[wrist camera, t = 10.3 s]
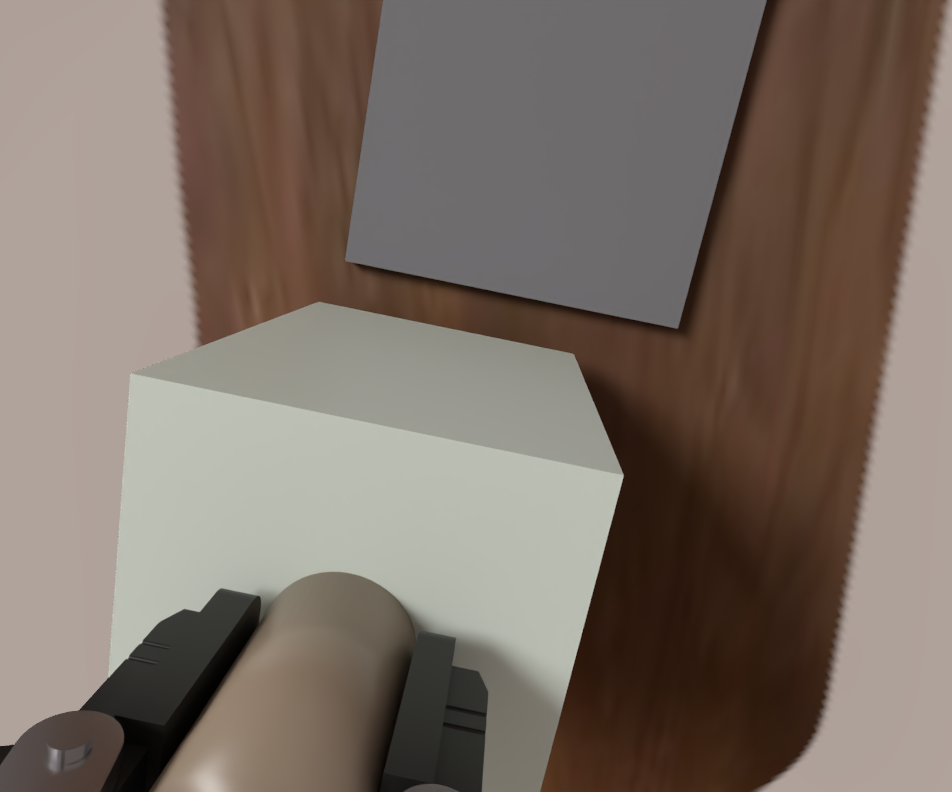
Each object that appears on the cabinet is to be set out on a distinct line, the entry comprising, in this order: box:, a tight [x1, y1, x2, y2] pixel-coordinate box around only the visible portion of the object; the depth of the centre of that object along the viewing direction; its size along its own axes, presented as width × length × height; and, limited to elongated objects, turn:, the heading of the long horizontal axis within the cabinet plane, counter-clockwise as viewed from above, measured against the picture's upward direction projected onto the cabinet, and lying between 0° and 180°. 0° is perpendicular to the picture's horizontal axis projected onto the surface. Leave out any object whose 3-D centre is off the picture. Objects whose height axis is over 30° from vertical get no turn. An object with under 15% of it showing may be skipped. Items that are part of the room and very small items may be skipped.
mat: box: [345, 0, 767, 329], centre depth 23 cm, size 12×12×1 cm
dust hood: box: [108, 302, 624, 792], centre depth 17 cm, size 9×9×17 cm
